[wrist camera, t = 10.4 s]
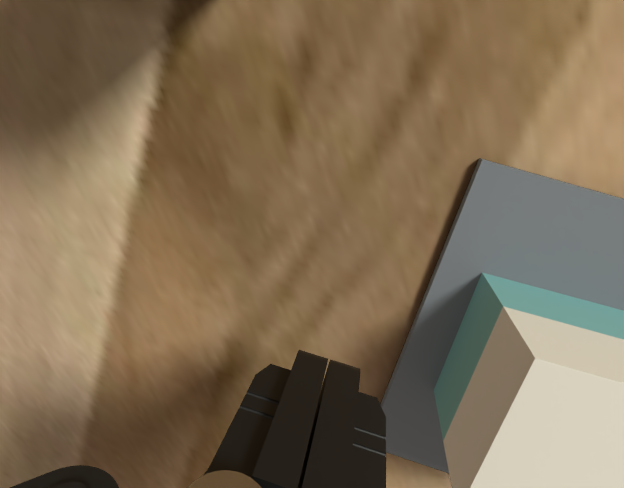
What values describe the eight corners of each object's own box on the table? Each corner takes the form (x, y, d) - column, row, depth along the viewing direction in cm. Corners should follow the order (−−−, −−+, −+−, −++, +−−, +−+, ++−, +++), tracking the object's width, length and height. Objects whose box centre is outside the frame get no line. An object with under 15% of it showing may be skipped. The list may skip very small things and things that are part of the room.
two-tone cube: (433, 390, 15) (457, 513, 11) (481, 272, 14) (535, 358, 9) (567, 429, 15) (652, 576, 10) (634, 313, 13) (773, 426, 9)
